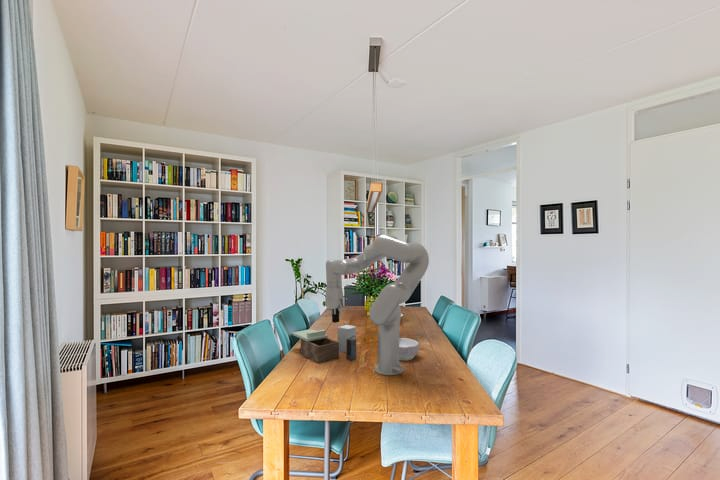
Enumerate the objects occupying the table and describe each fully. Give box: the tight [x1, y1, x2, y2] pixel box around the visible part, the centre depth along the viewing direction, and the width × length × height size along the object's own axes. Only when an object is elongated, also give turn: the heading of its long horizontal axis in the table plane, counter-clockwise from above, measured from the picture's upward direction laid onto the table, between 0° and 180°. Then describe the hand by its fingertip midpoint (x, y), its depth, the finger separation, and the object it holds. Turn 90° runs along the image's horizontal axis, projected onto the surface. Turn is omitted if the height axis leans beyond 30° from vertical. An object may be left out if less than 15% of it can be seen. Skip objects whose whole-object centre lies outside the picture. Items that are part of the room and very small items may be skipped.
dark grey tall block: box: [346, 338, 357, 362], centre depth 172 cm, size 3×3×10 cm
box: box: [300, 337, 340, 365], centre depth 178 cm, size 22×12×8 cm, turn 39°
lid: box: [291, 328, 329, 341], centre depth 183 cm, size 16×12×4 cm
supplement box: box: [337, 324, 357, 354], centre depth 186 cm, size 7×7×13 cm
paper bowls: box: [399, 337, 420, 362], centre depth 175 cm, size 15×15×8 cm
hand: (335, 322), depth 172 cm, fingers closed
